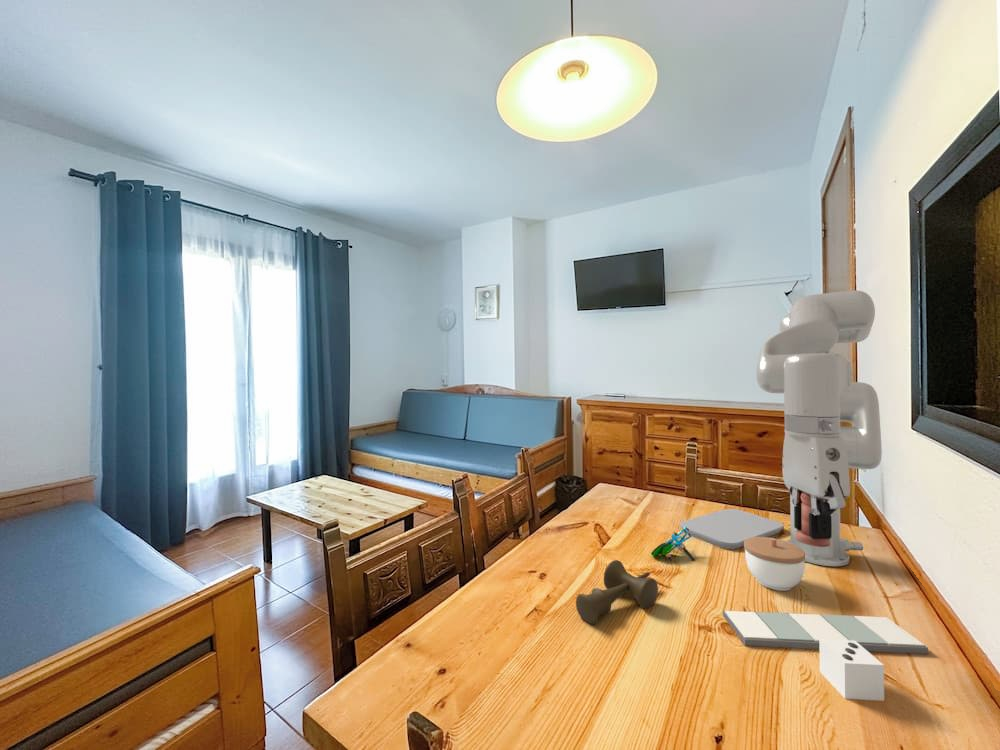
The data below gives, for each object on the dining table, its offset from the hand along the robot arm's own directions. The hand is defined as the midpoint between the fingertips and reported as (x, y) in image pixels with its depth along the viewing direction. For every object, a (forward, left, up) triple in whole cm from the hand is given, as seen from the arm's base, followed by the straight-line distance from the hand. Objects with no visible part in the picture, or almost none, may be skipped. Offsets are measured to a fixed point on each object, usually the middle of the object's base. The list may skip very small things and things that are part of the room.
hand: (812, 532), depth 68 cm
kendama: (+31, -7, -18) cm, 37 cm away
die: (+2, +11, -18) cm, 21 cm away
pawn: (0, 0, -1) cm, 1 cm away
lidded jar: (-3, -17, -18) cm, 25 cm away
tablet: (-7, -45, -18) cm, 49 cm away
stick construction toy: (+14, -28, -18) cm, 36 cm away
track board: (-1, 0, -18) cm, 18 cm away
